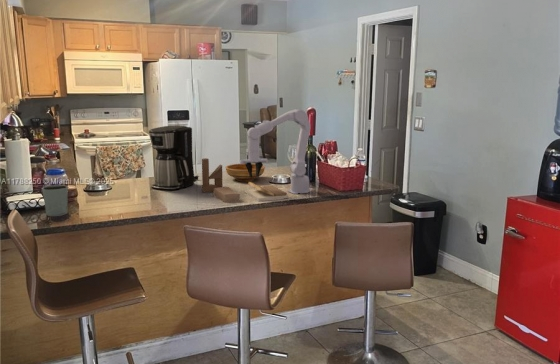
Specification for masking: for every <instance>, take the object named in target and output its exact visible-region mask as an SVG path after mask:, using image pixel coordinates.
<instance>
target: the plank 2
mask: <svg viewBox="0 0 560 364" xmlns="http://www.w3.org/2000/svg"><path fill="white" fill-rule="evenodd" d="M256 185H257V184H256ZM256 185H255V186H254V187H253V188H254V189H258V190H260V191H262V192H265V193H267V194H270V195H272V196H274V193H272V192H270V191H269V190H266V189H264V188H261V187H262V186H261V187H259V186H260V185H259V186H256Z"/></svg>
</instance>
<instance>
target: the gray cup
mask: <svg viewBox="0 0 560 364" xmlns="http://www.w3.org/2000/svg"><path fill="white" fill-rule="evenodd" d="M68 188H69V187H68V185H65V184H61V185H60V184H56V185H55V184H54V185H53V184H52V185H46V186H43V187H42V188H41V191H42V196H43V199H44V200H43V202H44V206H45V215H46V216H48V217H61V216H65V215H67V214H68V210H69V209H68V202H69V200H68V197H69V196H68V194H69V193H68V192H69V189H68Z"/></svg>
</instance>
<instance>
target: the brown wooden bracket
mask: <svg viewBox="0 0 560 364" xmlns="http://www.w3.org/2000/svg"><path fill="white" fill-rule="evenodd" d="M209 160H210V159H209V158H202V159H201V177H202V182H201V183H202V184H201V192H202V193H214V188H219V187H224V186H223V165H222V164H219V165H218V166H217V167H216V168H215V169H214V171H212V172H211V174H210V165H209V164H210V163H209V162H210V161H209ZM210 180H213V181H214V183H211V184H210Z"/></svg>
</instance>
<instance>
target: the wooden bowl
mask: <svg viewBox="0 0 560 364" xmlns="http://www.w3.org/2000/svg"><path fill="white" fill-rule="evenodd" d="M251 164H252V165H253V166H252V177H249V172H248V169H247V167H246V165H245V164H240V163H234V164H233V163H232V164H228V165H226V166H225V168H224V169H225V171H226V173H227V175H228V176H230V177H232V178H233V179H235V180H236V181H238V182H252V181H255V179H257V178H258V177H256V165H255V163H251ZM265 168H266V166H265V165H263V166H262V168H261V170H260V173H259V177H261V176H262V175H263V174H264V172H265Z"/></svg>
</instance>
